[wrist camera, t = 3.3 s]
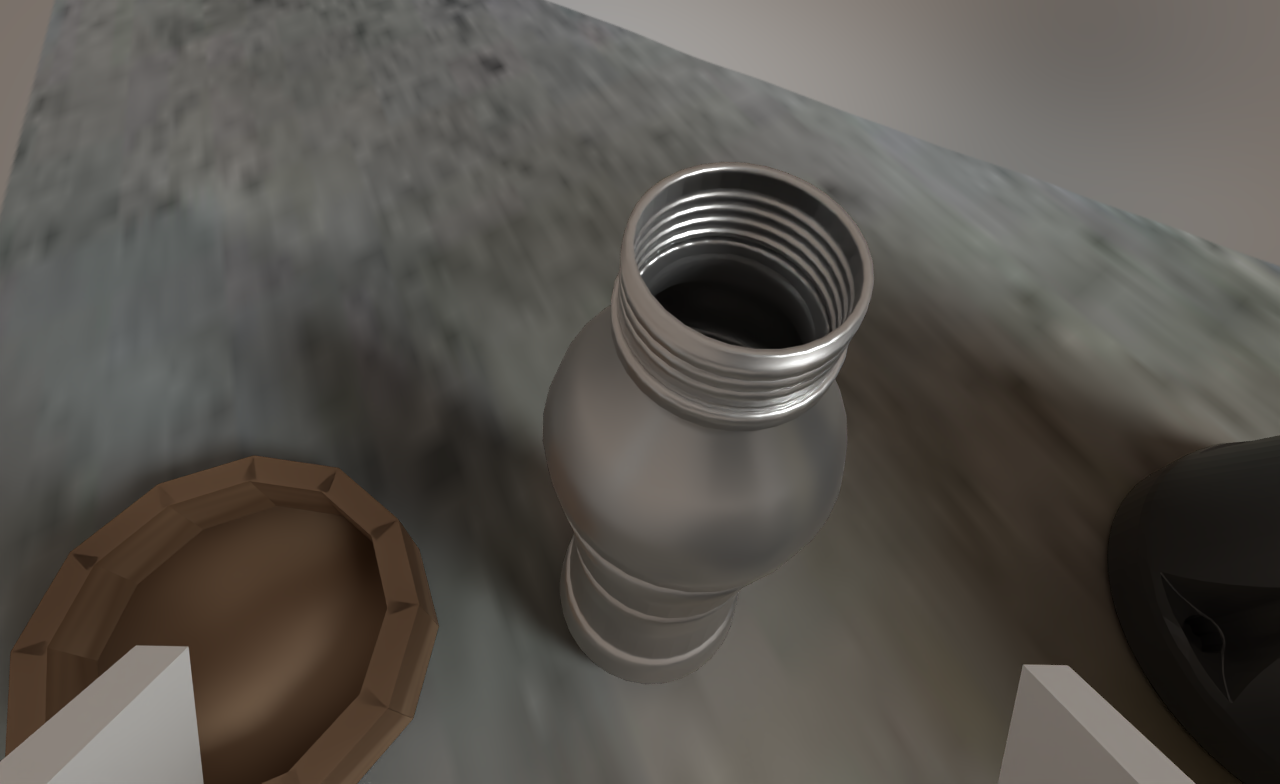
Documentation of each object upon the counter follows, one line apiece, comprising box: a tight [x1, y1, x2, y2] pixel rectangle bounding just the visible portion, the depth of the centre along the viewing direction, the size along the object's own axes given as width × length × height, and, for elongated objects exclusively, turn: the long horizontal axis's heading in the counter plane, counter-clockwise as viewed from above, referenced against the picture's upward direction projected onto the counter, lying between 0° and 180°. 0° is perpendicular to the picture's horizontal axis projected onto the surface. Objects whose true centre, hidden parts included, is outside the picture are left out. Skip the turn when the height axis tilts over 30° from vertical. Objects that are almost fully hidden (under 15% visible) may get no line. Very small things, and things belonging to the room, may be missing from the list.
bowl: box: [5, 455, 439, 784], centre depth 23 cm, size 12×12×4 cm
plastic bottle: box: [543, 162, 874, 684], centre depth 18 cm, size 6×7×20 cm
